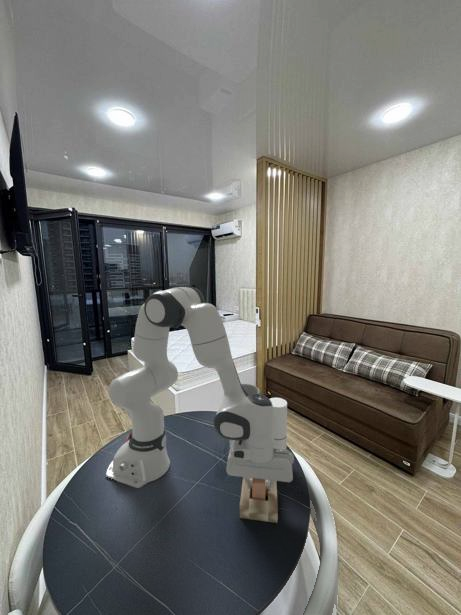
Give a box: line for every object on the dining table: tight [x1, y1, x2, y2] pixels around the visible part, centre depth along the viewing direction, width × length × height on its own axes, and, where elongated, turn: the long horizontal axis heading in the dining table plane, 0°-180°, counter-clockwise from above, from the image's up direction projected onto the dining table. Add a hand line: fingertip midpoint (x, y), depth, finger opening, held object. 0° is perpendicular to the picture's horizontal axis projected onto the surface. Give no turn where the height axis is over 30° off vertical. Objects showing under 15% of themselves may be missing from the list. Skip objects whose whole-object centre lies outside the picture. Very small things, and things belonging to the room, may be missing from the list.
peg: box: [251, 478, 266, 501], centre depth 75 cm, size 4×4×8 cm
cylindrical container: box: [269, 397, 288, 450], centre depth 90 cm, size 7×7×25 cm
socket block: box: [239, 477, 279, 524], centre depth 76 cm, size 11×11×4 cm
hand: (258, 488), depth 75 cm, fingers open, 4 cm apart
